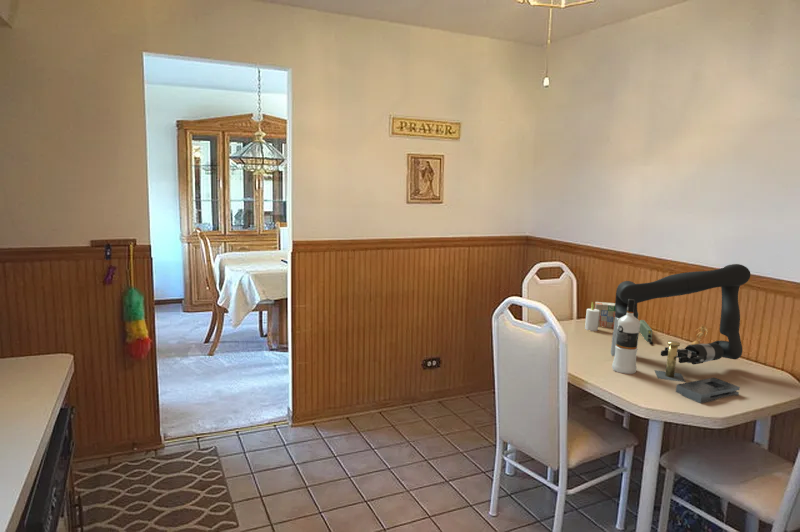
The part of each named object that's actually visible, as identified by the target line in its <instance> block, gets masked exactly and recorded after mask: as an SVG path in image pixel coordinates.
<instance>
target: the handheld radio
mask: <svg viewBox="0 0 800 532" xmlns="http://www.w3.org/2000/svg"><path fill="white" fill-rule="evenodd" d="M639 321H640V328H639V330H640V331H639V333H641V334H642V335H641V334H640V335H641V336H642V338H643V337H644V338H643V340H646V341H647V343H649V345H650V346H651V345H653V344H654V342H653V329H652V328H651V327H650V325H649V324H648V323H647V321H646V320H645V319H640V320H639ZM646 341H645V342H646Z"/></svg>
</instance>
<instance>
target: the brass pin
mask: <svg viewBox="0 0 800 532" xmlns="http://www.w3.org/2000/svg"><path fill="white" fill-rule="evenodd" d="M666 343H667V345H668V347H669V348H668V356H666V357H667V358H666V364H665V365H666V366H665V372H666V373H665V376H667V377H674V374H675V373H676V365H677V356H678V355H677V354H678V352H677V349H679V347H680V345H681V342H680V341H677V340H667V342H666Z"/></svg>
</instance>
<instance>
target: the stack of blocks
mask: <svg viewBox="0 0 800 532" xmlns="http://www.w3.org/2000/svg"><path fill="white" fill-rule="evenodd" d="M594 309H597V310H599V321H598V327H601V326H603V328H611V327H613V329H614V321H615V303H614V302H605V301H602V302H601V301H595V303H594Z"/></svg>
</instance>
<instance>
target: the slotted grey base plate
mask: <svg viewBox="0 0 800 532" xmlns="http://www.w3.org/2000/svg"><path fill="white" fill-rule="evenodd" d="M675 388H676V389H675V393H677V394H680V395H681V396H682V397H685V398H687V399H689V400H691V401H694V402H696V403H699V404H703V403H708V402H712V401H713V402H714V401H717V400H719V399H722V398H727V397H732V396H739V394H740V386H738V385H735V384H733V383H730V382H727V381H726V380H725V381H724V380H722V379H719V378H716V377H709V378H705V379H700V380H695V381H688V382H682V383H678V384H676V387H675Z"/></svg>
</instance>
